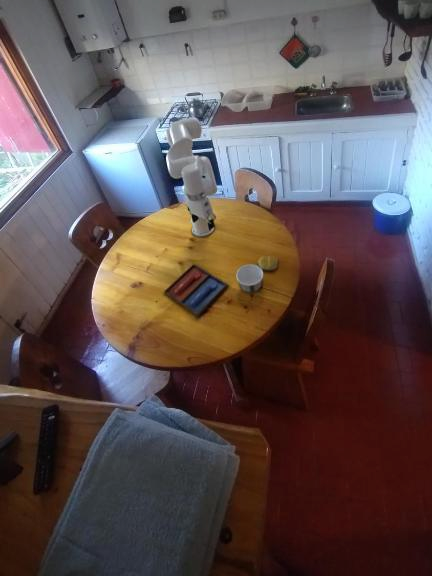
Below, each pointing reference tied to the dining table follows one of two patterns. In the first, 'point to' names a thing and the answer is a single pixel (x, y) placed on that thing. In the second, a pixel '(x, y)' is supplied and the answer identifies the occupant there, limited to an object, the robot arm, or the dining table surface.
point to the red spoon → (187, 282)
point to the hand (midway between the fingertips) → (203, 224)
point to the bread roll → (268, 262)
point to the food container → (250, 277)
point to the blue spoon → (204, 292)
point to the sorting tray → (196, 290)
